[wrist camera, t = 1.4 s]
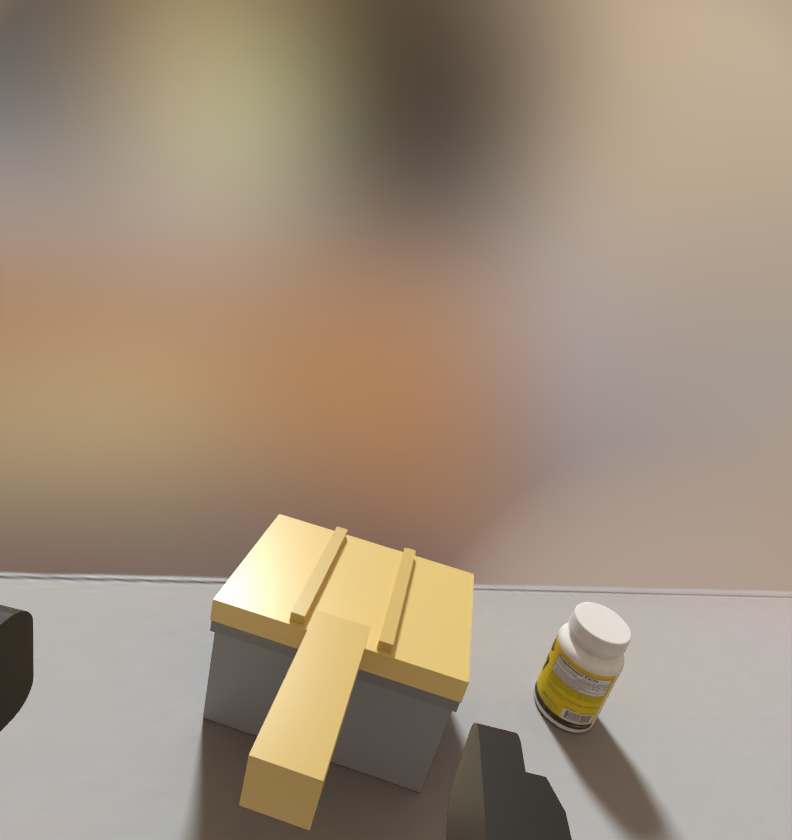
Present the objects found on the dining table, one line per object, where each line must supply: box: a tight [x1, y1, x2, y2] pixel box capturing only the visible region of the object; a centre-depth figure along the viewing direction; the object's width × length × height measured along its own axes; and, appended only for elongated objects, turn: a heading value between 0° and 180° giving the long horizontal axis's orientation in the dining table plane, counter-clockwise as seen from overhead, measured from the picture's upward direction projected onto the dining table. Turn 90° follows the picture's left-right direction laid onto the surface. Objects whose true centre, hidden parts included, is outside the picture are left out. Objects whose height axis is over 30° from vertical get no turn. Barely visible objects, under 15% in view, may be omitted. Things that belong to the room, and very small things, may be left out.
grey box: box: [203, 621, 460, 793], centre depth 34 cm, size 14×9×8 cm, turn 80°
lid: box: [211, 514, 474, 831], centre depth 28 cm, size 14×18×3 cm
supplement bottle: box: [534, 602, 631, 733], centre depth 38 cm, size 5×5×8 cm
